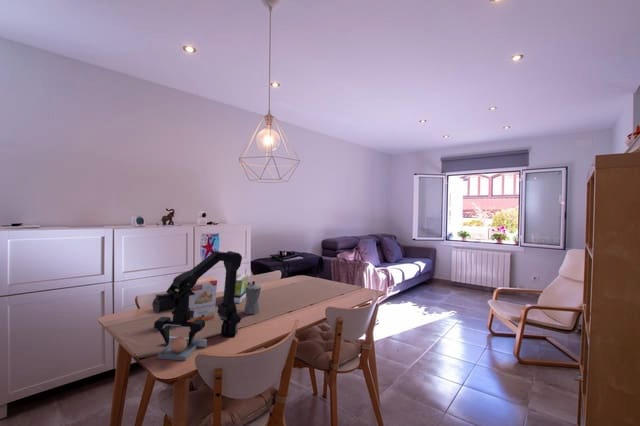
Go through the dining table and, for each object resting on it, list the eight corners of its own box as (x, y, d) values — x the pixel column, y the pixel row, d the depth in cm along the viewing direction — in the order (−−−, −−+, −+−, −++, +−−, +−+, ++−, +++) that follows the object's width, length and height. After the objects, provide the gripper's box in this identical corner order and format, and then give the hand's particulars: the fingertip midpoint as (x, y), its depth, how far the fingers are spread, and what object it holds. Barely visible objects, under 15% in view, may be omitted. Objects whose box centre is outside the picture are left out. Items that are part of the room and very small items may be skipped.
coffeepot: (263, 314, 169) (265, 283, 168) (247, 317, 164) (249, 285, 163) (253, 306, 182) (255, 277, 181) (238, 308, 177) (240, 278, 176)
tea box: (240, 303, 184) (242, 280, 184) (224, 302, 184) (226, 278, 184) (246, 296, 199) (248, 274, 199) (232, 295, 199) (233, 273, 199)
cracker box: (189, 324, 148) (191, 283, 148) (183, 321, 153) (186, 280, 152) (215, 318, 159) (217, 279, 158) (209, 314, 163) (212, 277, 162)
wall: (206, 346, 129) (207, 339, 129) (205, 347, 128) (206, 340, 128) (165, 343, 129) (165, 336, 128) (164, 343, 128) (164, 337, 128)
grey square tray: (197, 347, 127) (197, 343, 127) (185, 360, 116) (185, 356, 116) (171, 345, 127) (171, 341, 127) (157, 358, 116) (157, 354, 116)
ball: (188, 348, 125) (189, 334, 125) (182, 356, 119) (183, 341, 119) (174, 347, 125) (175, 333, 125) (167, 354, 119) (168, 340, 119)
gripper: (211, 302, 129) (208, 337, 130) (168, 299, 129) (166, 334, 130) (200, 311, 118) (198, 349, 119) (154, 307, 118) (151, 346, 118)
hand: (178, 344), depth 122 cm, fingers open, 9 cm apart
